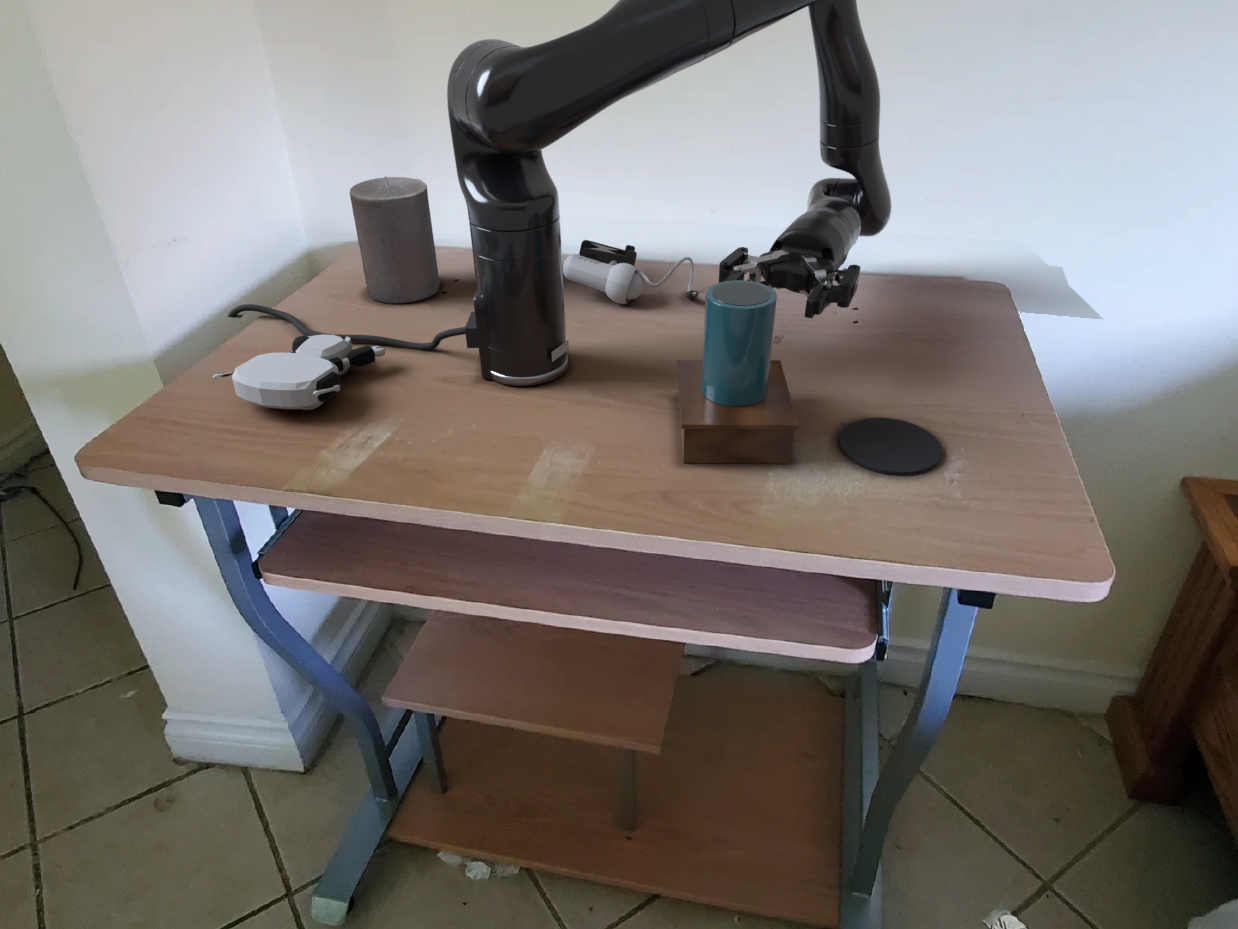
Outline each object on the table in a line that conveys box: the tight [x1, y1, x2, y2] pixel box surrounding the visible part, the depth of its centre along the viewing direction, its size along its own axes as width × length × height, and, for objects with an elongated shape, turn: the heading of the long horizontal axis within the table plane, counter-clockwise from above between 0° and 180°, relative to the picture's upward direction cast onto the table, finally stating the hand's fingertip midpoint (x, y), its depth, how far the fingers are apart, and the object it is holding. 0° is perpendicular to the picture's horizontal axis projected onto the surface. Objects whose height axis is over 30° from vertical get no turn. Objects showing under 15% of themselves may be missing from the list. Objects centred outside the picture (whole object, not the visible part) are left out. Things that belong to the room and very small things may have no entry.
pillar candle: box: [349, 175, 441, 304], centre depth 111 cm, size 10×10×15 cm
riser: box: [676, 359, 799, 465], centre depth 84 cm, size 11×13×4 cm
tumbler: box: [701, 280, 778, 407], centre depth 80 cm, size 6×6×10 cm
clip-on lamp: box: [562, 239, 699, 305], centre depth 112 cm, size 12×6×18 cm
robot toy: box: [212, 334, 386, 411], centre depth 92 cm, size 12×4×15 cm
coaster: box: [838, 417, 943, 476], centre depth 83 cm, size 10×10×1 cm
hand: (767, 301), depth 86 cm, fingers open, 8 cm apart
